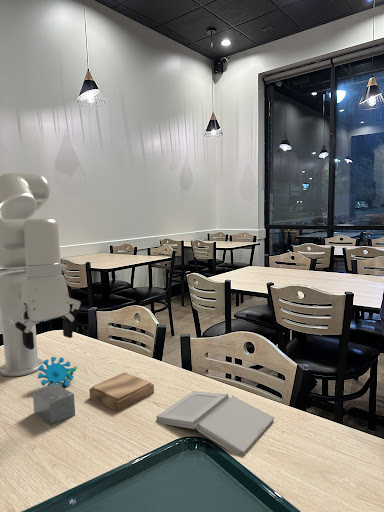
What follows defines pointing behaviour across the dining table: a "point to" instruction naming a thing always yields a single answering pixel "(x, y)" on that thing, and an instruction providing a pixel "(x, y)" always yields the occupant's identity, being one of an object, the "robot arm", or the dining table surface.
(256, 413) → the grey folded flat piece
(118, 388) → the stand
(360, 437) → the dining table surface
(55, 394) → the grey rectangular block
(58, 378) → the gear
